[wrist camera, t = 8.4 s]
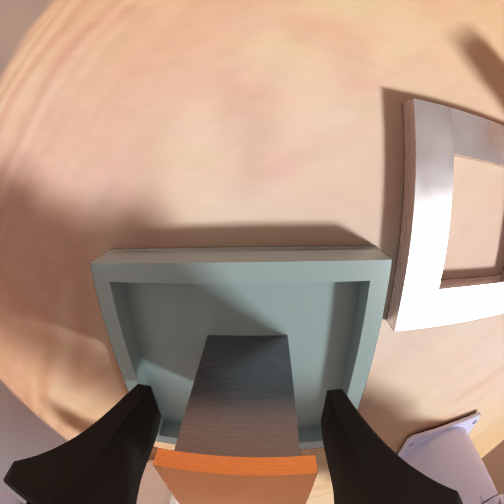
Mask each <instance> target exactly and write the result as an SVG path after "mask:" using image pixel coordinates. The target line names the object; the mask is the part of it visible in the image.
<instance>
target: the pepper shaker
mask: <svg viewBox="0 0 504 504" xmlns="http://www.w3.org/2000/svg"><path fill="white" fill-rule="evenodd" d="M153 462H154V460H150V461H148V462H147V464H146V467H145V470H144V472H143V476H142V479H141V483H140V487H139V492H138V497H137V503H136V504H179V503H178V501H177V500H176V499H175V497H174V496H173V494H172V493H171V492H170V490H169V489H168V487H167V486H166V484H165V483H164V481H163V480H162V478H161V477H160V475H159V474H158V472H157V470H156V469H155V467H154V466H153Z"/></svg>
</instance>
